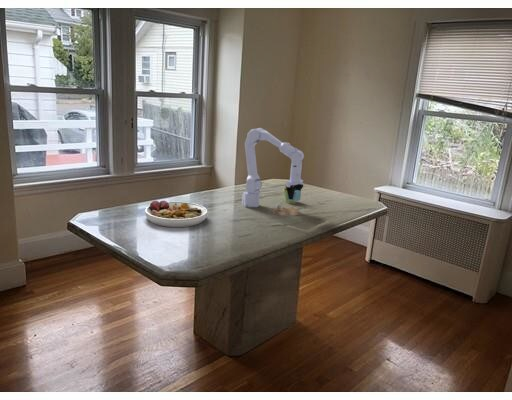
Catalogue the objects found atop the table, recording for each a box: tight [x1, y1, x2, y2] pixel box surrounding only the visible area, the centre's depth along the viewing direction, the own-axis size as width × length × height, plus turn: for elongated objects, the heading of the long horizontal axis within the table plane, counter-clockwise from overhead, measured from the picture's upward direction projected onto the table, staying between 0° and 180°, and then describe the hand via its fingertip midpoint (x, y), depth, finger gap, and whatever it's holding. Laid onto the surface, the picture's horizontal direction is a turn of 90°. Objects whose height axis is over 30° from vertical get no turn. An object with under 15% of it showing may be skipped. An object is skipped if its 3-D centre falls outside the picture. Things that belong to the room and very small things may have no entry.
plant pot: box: [282, 187, 297, 205], centre depth 250 cm, size 9×9×9 cm
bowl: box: [144, 200, 208, 228], centre depth 209 cm, size 30×30×8 cm
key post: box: [275, 203, 282, 211], centre depth 232 cm, size 2×1×4 cm, turn 110°
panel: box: [268, 206, 303, 216], centre depth 231 cm, size 15×13×1 cm
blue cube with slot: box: [286, 190, 302, 203], centre depth 228 cm, size 5×5×5 cm
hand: (293, 198), depth 228 cm, fingers closed on blue cube with slot, 5 cm apart
